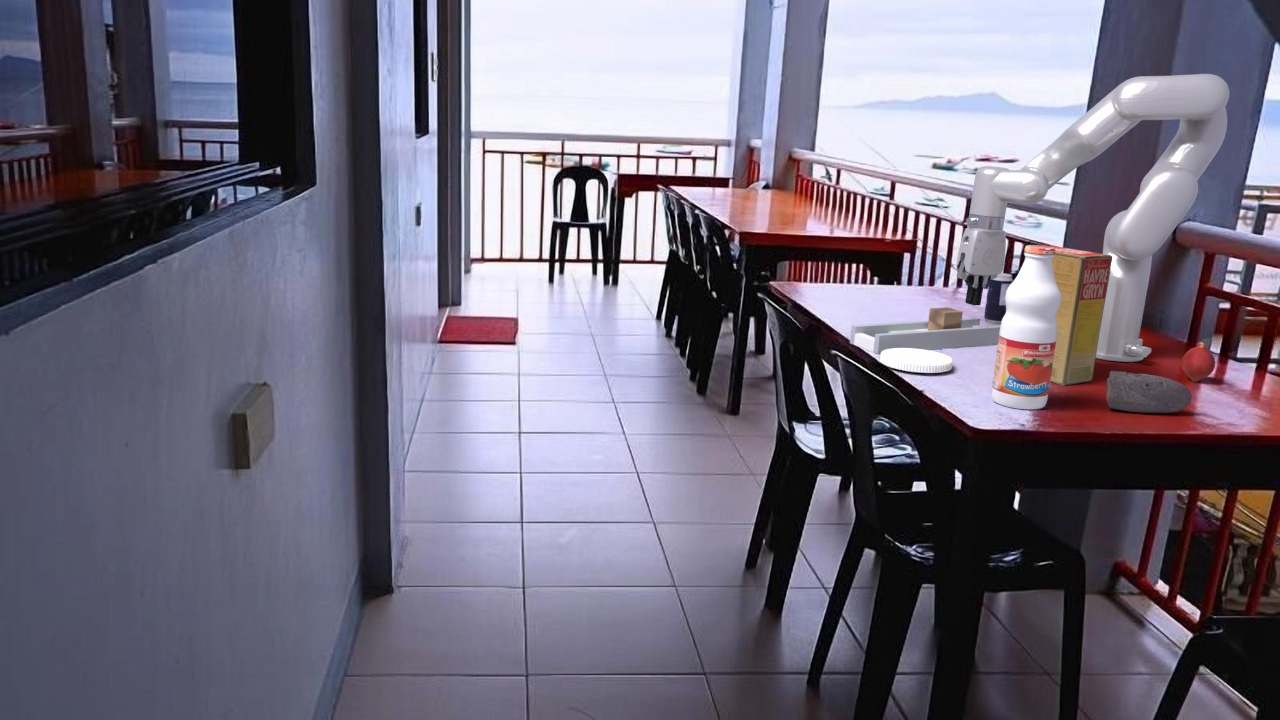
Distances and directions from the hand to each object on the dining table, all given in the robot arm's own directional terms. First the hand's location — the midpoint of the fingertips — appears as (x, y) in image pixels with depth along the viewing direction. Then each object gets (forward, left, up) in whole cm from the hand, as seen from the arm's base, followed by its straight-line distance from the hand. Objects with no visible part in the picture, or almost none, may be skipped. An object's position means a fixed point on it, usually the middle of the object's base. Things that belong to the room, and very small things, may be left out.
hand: (972, 304), depth 218 cm
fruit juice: (-43, +26, -9) cm, 51 cm away
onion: (-42, -21, -9) cm, 47 cm away
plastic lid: (-17, +28, -9) cm, 34 cm away
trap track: (-1, +12, -8) cm, 15 cm away
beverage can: (+14, -22, -9) cm, 27 cm away
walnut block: (-1, +8, -6) cm, 10 cm away
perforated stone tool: (-53, +8, -9) cm, 55 cm away
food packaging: (-30, +5, -9) cm, 31 cm away
